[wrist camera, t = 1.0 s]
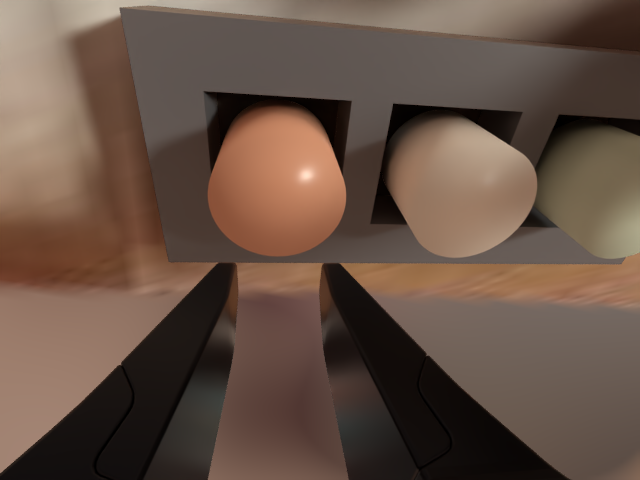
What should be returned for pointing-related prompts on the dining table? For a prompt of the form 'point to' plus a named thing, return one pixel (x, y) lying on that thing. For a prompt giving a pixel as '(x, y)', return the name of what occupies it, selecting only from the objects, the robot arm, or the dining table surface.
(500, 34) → the dining table surface
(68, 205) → the dining table surface
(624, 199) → the pale green egg
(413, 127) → the beige domed piece
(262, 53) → the egg tray
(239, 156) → the orange rounded dome
